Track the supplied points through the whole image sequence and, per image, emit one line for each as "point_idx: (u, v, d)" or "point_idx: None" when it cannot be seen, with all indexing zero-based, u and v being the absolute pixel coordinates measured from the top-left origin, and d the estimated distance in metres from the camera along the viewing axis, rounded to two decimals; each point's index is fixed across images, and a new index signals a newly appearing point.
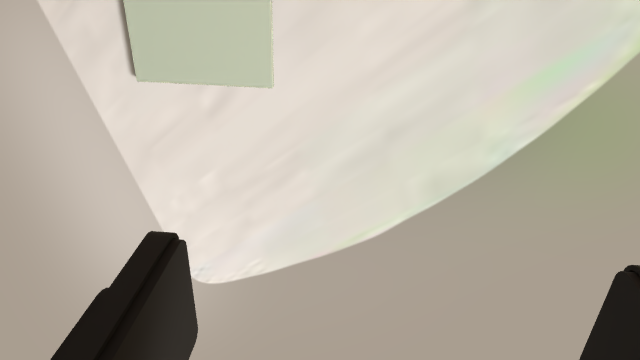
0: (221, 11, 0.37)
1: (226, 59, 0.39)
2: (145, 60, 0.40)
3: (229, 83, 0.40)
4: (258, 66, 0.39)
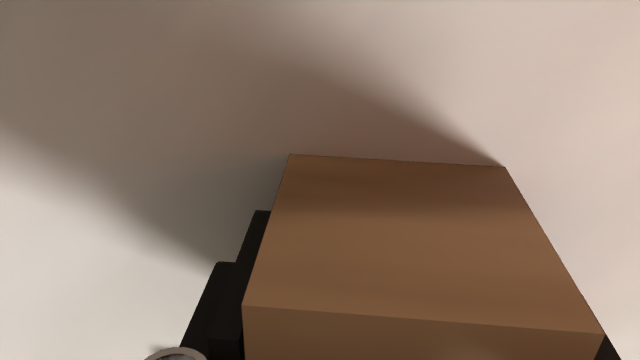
0: None
1: None
2: None
3: None
4: None
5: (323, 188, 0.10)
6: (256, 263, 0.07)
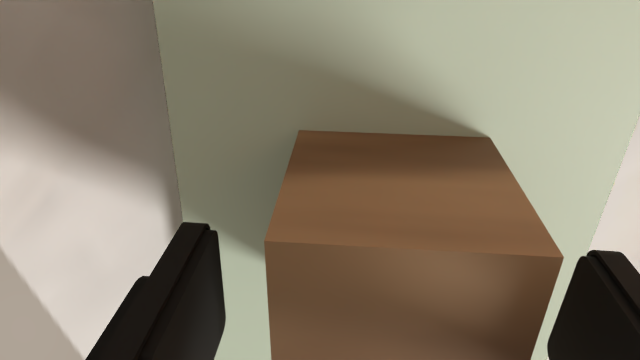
0: None
1: None
2: (228, 328, 0.16)
3: None
4: None
5: (329, 156, 0.11)
6: (274, 212, 0.09)
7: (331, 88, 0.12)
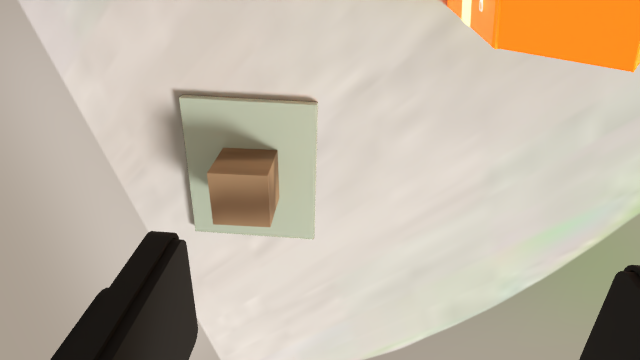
0: None
1: (275, 217, 0.45)
2: (204, 216, 0.46)
3: (276, 234, 0.46)
4: (302, 222, 0.45)
5: (228, 155, 0.40)
6: (210, 168, 0.38)
7: (231, 136, 0.41)
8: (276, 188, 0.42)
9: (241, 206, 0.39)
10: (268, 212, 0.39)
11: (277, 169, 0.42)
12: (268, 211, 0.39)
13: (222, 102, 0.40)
